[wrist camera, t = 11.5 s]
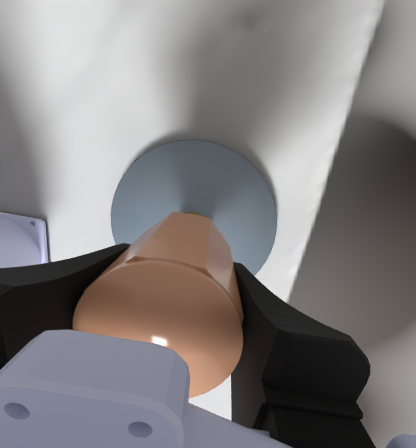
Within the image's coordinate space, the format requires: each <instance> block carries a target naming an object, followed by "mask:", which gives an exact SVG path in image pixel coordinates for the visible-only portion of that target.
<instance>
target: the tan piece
mask: <svg viewBox="0 0 416 448" xmlns="http://www.w3.org/2000/svg"><path fill="white" fill-rule="evenodd" d="M243 318H244V315H243V310H242V305H241V300H240V295H239V290H238V285H237V280H236V275H235V269H234V265H233V259H232V254H231V249H230V245H229V244H228V243H227V241H226V240H225V238H224V237H223V236H222V234H221V233H220V231H219V230H218V229H217V227H216V226H215V224H214V223H213V222H212V220H211V219H210V218H208V217H203V216H197V215H191V214H186V213H180V212H174V211H173V212H172V213H170V214H169V215H167V216H166V217H165V218H163V219H162V220H160V221H159V222H158V223H156V224H155V225H153V226H152V227H150V228H149V229H148V230H146V231H145V232H144V233H143V234H142V235H141V236H140V237H139V238H138V239H137V240H136V241H135V242H134V243H133V244H132V245H130V247H128V248H127V249H126V250H125V251H124V252H123V253H122V254H121V255H120V256H119V257H118V258H117V259H116V260H115V261H114V262H113V263H112V264H111V265H110V266H109V267H108V268H107V269H106V270H105V271H104V272H103V273H102V274H101V275H99V276H98V277H97V278H96V279H95V280H94V281H93V282H92V283H91V284H90V285H89V286H88V287H87V288H86V289H85V290H84V294H83V295H82V297H81V298H80V300H79V301H78V304H77V306H76V308H75V312H74V316H73V327H72V328H73V330H75V331H81V332H87V333H93V334H100V335H106V336H112V337H118V338H124V339H131V340H137V341H143V342H149V343H155V344H159V345H161V346H164V347H167V348H169V349H172V350H174V351H176V353H177V354H178V355H179V356H180V357H181V358H182V359H183V360H184V361H185V362H186V363H187V364H188V367H189V374H190V389H189V398H192V397H195V396H199V395H201V394H204V393H206V392H208V391H210V390H212V389H214V388H215V387H217V386H218V385H220V384H221V383H222V382H223V381H224V380H225V379H227V378H228V377H229V375H230V374H231V373H232V372H233V370H234V369H235V367H236V365H237V364H238V362H239V359H240V356H241V353H242V348H243V332H242V326H241V325H242V322H243Z"/></svg>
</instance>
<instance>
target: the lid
mask: <svg viewBox="0 0 416 448" xmlns="http://www.w3.org/2000/svg"><path fill="white" fill-rule="evenodd" d="M173 211H174V212H180V213H188V212H196V213H199V214H201V215H203V216H204V217H208V218H210V219H211V220H212V222H213V223H214V224H215V226H216V227H217V229H218V230H219V231H220V233H221V234H222V236H223V237H224V238H225V240H226V241H227V243H228V244H229V245H230V249H231V254H232V259H233V262H237V263H242V264H243V265H244V266H245V267H246V268H247V269H248V270H249V271H250V272H251V273H252V274H253V275H254V276H255V275H256V273H257V272H258V271H259V270H260V269H261V268H262V266H263V265H264V263H265V262H266V260H267V258H268V256H269V255H270V253H271V250H272V247H273V244H274V241H275V236H276V229H277V215H276V208H275V203H274V199H273V197H272V194H271V191H270V189H269V187H268V185H267V183H266V181H265V180H264V178H263V177H262V176H261V174H260V173H259V171H258V170H257V169H256V168H255V167H254V166H253V165H252V164H251V163H250V162H249V161H248V160H246V159H245V158H244V157H243V156H241V155H240V154H238V153H236V152H235V151H233V150H231V149H229V148H227V147H224V146H222V145H219V144H216V143H212V142H208V141H200V140H182V141H176V142H170V143H167V144H164V145H161V146H159V147H157V148H155V149H153V150H150V151H149V152H147V153H146V154H144V155H143V156H141V157H140V158H139V159H138V160H137V161H135V162H134V163H133V164H132V165H131V166H130V168H129V169H128V170H127V171H126V173H125V174H124V175H123V177H122V179H121V180H120V182H119V184H118V186H117V189H116V191H115V194H114V198H113V202H112V208H111V227H112V233H113V237H114V240H115V244H116V245H118V244H122V243H127V244H133V243H134V242H135V241H136V240H137V239H138V238H139V237H140V236H141V235H142V234H143V233H144V232H145V231H146V230H148V229H149V228H150V227H152V226H153V225H155V224H156V223H158V222H159V221H160V220H162V219H163V218H165V217H166V216H167V215H169V214H170V213H172V212H173Z"/></svg>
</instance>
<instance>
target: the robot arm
mask: <svg viewBox="0 0 416 448" xmlns="http://www.w3.org/2000/svg"><path fill="white" fill-rule="evenodd" d="M34 222H35V224H34ZM130 245H132V244H127V243H122V244H118V245H114V246H111V247H108V248H105V249H102V250H99V251H96V252H92V253H89V254H85V255H82V256H78V257H74V258H70V259H66V260H61V261H56V262H50V263H48V252H47V238H46V224H45V222H44V221H43V220H42V219H38V218H32V217H26V216H20V215H15V214H9V213H3V212H0V448H376V447H375V445H374V444H373V442H372V440H371V438H370V437H369V435H368V433H367V431H366V430H365V428H364V426H363V425H362V423H361V421H360V419H362V418H363V413H362V411H361V409H360V408H359V406H358V404H357V403H356V401H357V399H358V397H359V395H360V394H361V392H362V390H363V388H364V387H365V385H366V383H367V381H368V378H369V376H370V363H369V361H368V358H367V357H366V355H365V354H364V353H363V352H362V350H361V349H360V348H359V347H358V346H357V344H356V343H355V341H354V340H353V339H352V338H351V337H350V336H349V335H347V334H345V333H342V332H340V331H338V330H335V329H333V328H331V327H329V326H326V325H324V324H322V323H320V322H318V321H316V320H314V319H312V318H310V317H308V316H307V315H305V314H303V313H301V312H300V311H298V310H296V309H295V308H293V307H292V306H290V305H288V304H287V303H285V302H284V301H283V300H281V299H280V298H279V297H277V296H276V295H275V294H273V293H272V292H271V291H270V290H268V289H267V288H266V287H265V286H264V285H263V284H262V283H261V282H260V281H259V280H258V279H257V278H256V277H255V276H254V275H253V274H252V273H251V272H250V271H249V270H248V269H247V268H246V267H245V266H244V265H243V264H242V263H237V262H233V265H234V269H235V275H236V280H237V285H238V290H239V295H240V300H241V305H242V310H243V315H244V318H243V322H242V325H241V326H242V332H243V348H242V353H241V356H240V359H239V362H238V364H237V365H236V367H235V369H234V370H233V372H232V373H231V400H232V421H230V420H228V419H225V418H223V417H221V416H218V415H216V414H214V413H211V412H209V411H207V410H204V409H202V408H200V407H197V406H195V405H193V404H190V403H188V398H189V389H190V374H189V367H188V364H187V363H186V362H185V361H184V360H183V359H182V358H181V357H180V356H179V355H178V354H177V353H176V351H174V350H172V349H169V348H167V347H164V346H161V345H159V344H155V343H149V342H143V341H137V340H131V339H124V338H118V337H112V336H106V335H100V334H93V333H87V332H81V331H75V330H73V328H72V327H73V316H74V312H75V308H76V306H77V304H78V301H79V300H80V298H81V297H82V295H83V294H84V290H85V289H86V288H87V287H88V286H89V285H90V284H91V283H92V282H93V281H94V280H95V279H96V278H97V277H98V276H99V275H101V274H102V273H103V272H104V271H105V270H106V269H107V268H108V267H109V266H110V265H111V264H112V263H113V262H114V261H115V260H116V259H117V258H118V257H119V256H120V255H121V254H122V253H123V252H124V251H125V250H126V249H127V248H128V247H130ZM386 448H416V435H410V434H398V435H395V436H393V437H392V438H391V439H390V440H389V441H388V443H387V445H386Z"/></svg>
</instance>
